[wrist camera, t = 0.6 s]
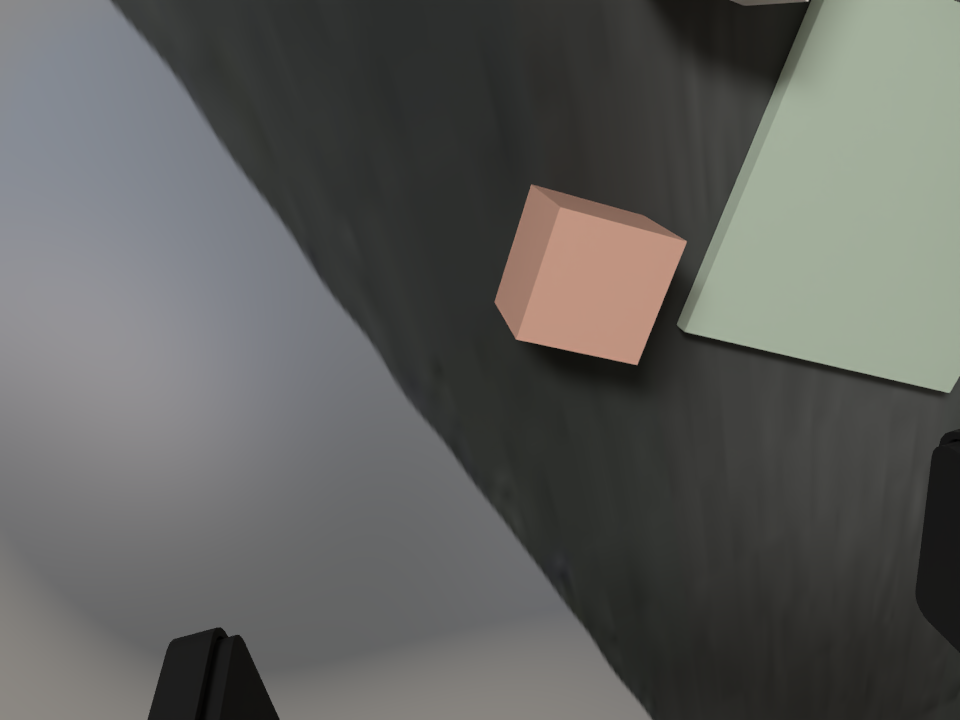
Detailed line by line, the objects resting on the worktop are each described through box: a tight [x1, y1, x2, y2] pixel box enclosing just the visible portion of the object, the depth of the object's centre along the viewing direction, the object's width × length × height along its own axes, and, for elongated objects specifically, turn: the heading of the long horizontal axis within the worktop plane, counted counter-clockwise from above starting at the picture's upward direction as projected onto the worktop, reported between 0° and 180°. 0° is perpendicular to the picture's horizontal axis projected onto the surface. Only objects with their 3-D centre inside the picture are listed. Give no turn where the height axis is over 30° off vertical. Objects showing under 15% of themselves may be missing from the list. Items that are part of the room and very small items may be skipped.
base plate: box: [677, 0, 960, 393], centre depth 37 cm, size 18×18×1 cm
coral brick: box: [495, 184, 687, 365], centre depth 33 cm, size 6×6×5 cm
